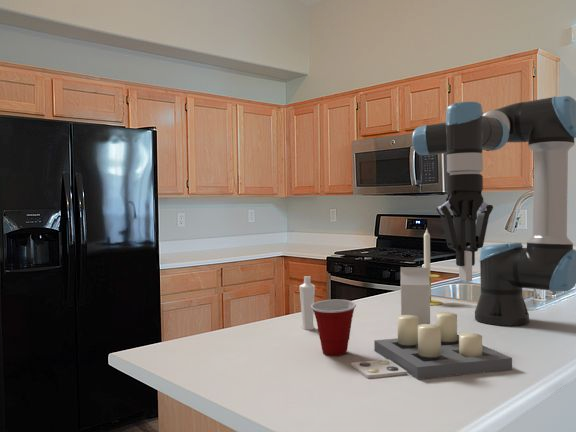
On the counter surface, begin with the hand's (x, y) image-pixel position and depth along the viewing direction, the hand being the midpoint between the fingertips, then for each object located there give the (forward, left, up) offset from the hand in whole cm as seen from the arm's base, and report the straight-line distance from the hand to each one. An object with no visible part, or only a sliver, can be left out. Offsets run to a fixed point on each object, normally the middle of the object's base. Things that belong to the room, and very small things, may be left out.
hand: (465, 280), depth 116 cm
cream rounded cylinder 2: (-1, +1, -18) cm, 18 cm away
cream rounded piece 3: (+9, -9, -15) cm, 20 cm away
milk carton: (+1, -21, -19) cm, 28 cm away
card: (+20, -1, -18) cm, 27 cm away
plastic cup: (+25, -16, -19) cm, 35 cm away
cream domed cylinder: (+9, +1, -15) cm, 18 cm away
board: (+4, -4, -18) cm, 19 cm away
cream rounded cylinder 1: (-1, -9, -15) cm, 18 cm away
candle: (-27, -66, -19) cm, 74 cm away
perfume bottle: (+24, -42, -19) cm, 52 cm away
